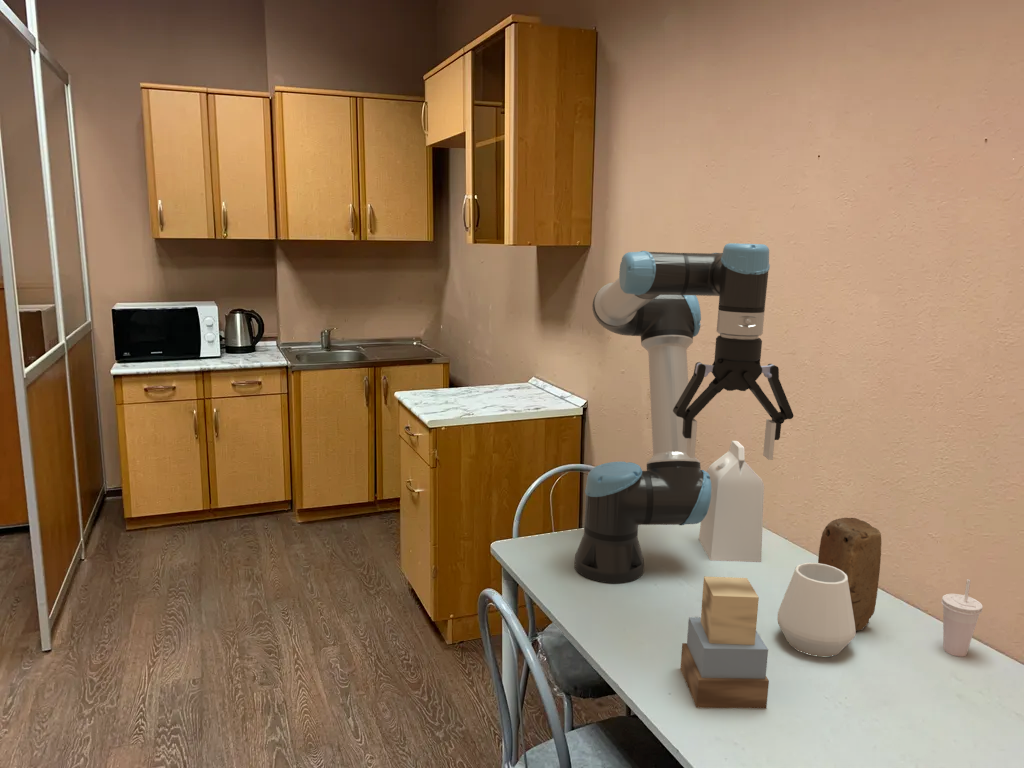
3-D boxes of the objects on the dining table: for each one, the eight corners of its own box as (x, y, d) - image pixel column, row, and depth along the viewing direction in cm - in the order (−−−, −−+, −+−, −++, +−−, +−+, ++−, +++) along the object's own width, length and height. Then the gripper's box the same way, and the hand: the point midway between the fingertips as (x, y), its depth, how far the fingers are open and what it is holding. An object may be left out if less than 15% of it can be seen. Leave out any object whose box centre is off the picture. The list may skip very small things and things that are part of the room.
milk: (761, 562, 176) (771, 452, 171) (710, 560, 177) (719, 450, 172) (746, 541, 188) (755, 437, 183) (698, 540, 188) (706, 436, 183)
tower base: (680, 670, 132) (682, 643, 131) (744, 671, 132) (746, 644, 131) (696, 709, 121) (698, 680, 120) (766, 709, 121) (769, 681, 120)
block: (876, 631, 146) (889, 531, 142) (842, 636, 144) (854, 534, 140) (838, 605, 156) (849, 511, 153) (806, 608, 154) (816, 513, 151)
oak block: (700, 621, 128) (703, 576, 127) (743, 623, 128) (747, 578, 127) (709, 643, 121) (713, 595, 120) (754, 645, 121) (758, 597, 120)
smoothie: (960, 663, 136) (972, 589, 133) (927, 646, 141) (937, 574, 139) (983, 655, 139) (994, 582, 136) (949, 638, 144) (959, 568, 141)
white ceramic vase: (846, 672, 132) (855, 596, 130) (766, 648, 139) (773, 576, 136) (859, 638, 143) (867, 568, 141) (784, 618, 150) (791, 551, 148)
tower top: (686, 644, 131) (688, 617, 130) (745, 645, 131) (748, 618, 130) (701, 677, 121) (704, 648, 120) (765, 678, 121) (768, 649, 120)
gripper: (670, 337, 127) (662, 461, 131) (821, 340, 128) (808, 464, 132) (661, 331, 134) (653, 449, 138) (803, 334, 135) (791, 452, 139)
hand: (729, 457), depth 135 cm, fingers open, 13 cm apart
